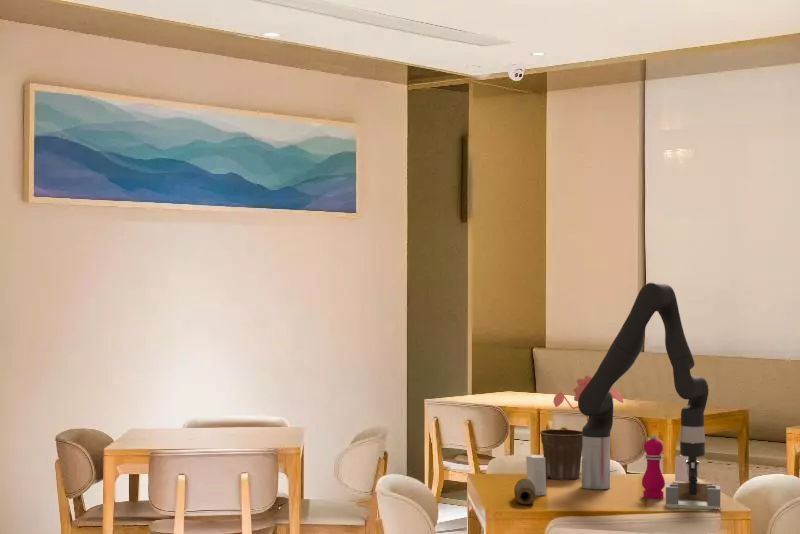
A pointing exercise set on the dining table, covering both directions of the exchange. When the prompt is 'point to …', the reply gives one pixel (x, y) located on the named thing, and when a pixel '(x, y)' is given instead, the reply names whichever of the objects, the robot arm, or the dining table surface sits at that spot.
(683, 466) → the can
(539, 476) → the skincare box
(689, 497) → the slat
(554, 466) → the plant pot
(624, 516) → the dining table surface
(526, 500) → the brown twine roll
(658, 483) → the pepper mill
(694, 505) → the holder
